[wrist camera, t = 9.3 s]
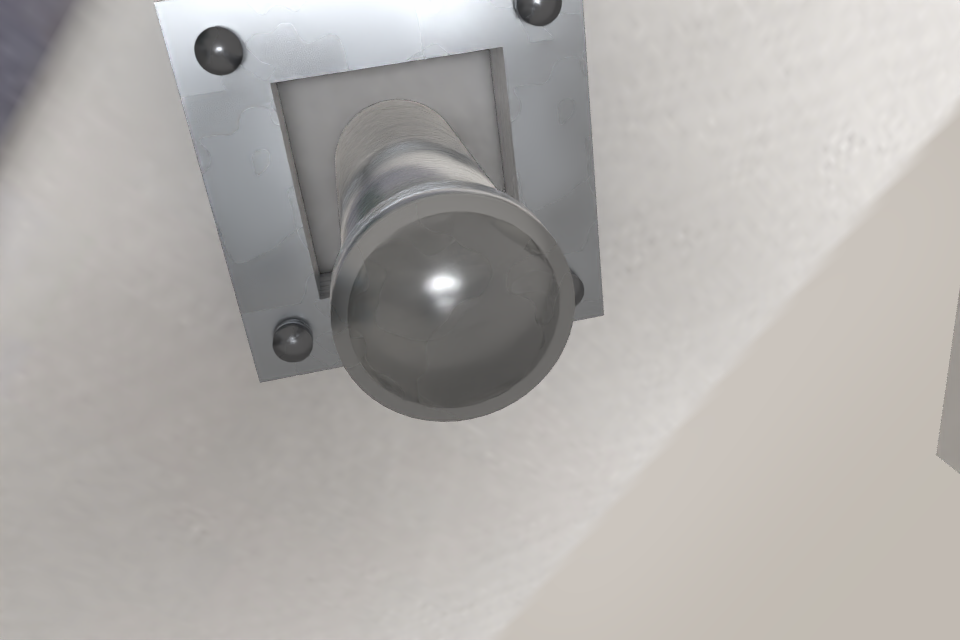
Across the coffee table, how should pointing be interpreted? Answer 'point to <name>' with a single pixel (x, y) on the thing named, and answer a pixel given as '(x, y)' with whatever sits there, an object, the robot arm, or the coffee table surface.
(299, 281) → the socket
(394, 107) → the grey cylinder
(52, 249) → the coffee table surface
